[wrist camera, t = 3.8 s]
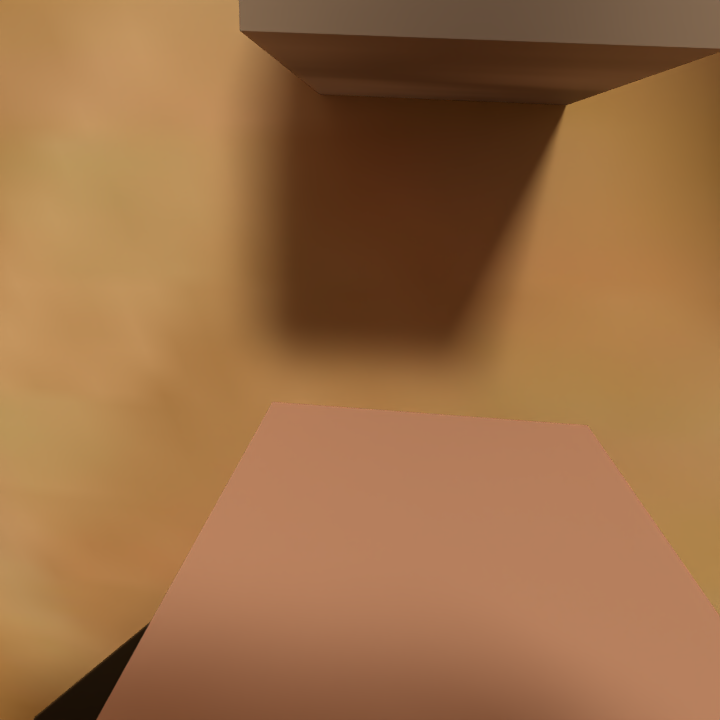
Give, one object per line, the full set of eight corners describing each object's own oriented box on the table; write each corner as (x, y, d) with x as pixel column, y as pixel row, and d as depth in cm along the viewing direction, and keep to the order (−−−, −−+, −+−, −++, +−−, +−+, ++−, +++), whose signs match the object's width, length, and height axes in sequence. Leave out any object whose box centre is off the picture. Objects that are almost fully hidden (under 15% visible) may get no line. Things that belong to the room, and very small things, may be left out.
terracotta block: (587, 425, 9) (920, 908, 3) (538, 665, 10) (696, 1260, 5) (272, 401, 9) (49, 806, 3) (274, 639, 11) (127, 1173, 5)
